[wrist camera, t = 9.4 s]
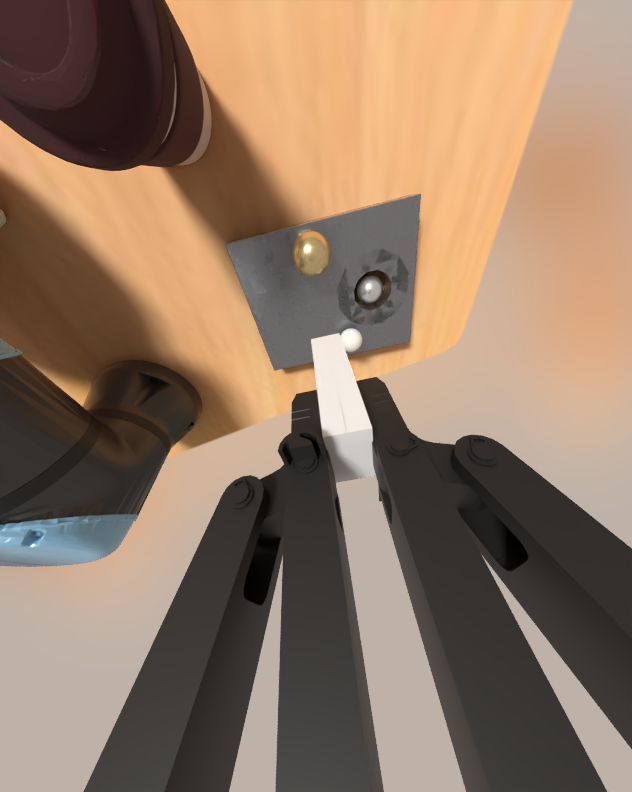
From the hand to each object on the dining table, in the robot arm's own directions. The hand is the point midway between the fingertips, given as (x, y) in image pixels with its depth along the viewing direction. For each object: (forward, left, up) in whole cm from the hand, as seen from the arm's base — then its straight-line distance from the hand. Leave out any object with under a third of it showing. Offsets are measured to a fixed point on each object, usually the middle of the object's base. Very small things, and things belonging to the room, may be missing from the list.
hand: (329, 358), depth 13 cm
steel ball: (+7, -3, -19) cm, 20 cm away
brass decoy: (0, +2, -16) cm, 16 cm away
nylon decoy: (+3, -8, -16) cm, 19 cm away
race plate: (+2, -3, -20) cm, 21 cm away
